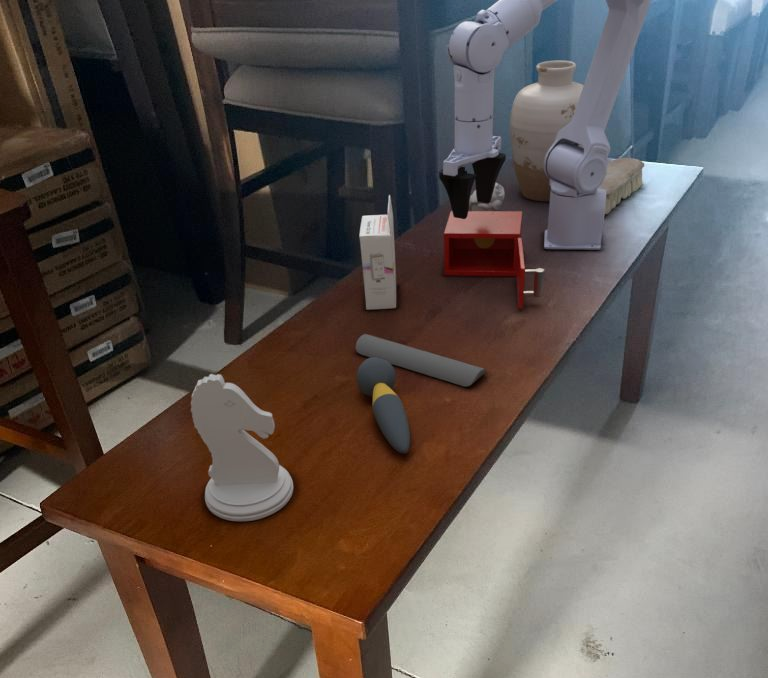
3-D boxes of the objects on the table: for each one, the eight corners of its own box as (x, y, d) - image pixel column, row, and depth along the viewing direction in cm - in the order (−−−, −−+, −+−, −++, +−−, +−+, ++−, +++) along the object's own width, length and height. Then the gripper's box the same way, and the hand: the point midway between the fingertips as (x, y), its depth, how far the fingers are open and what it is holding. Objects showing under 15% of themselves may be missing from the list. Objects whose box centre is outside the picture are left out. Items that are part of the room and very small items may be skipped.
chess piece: (289, 519, 82) (267, 399, 72) (198, 524, 83) (164, 405, 73) (297, 464, 90) (278, 348, 80) (213, 468, 90) (184, 354, 80)
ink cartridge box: (366, 287, 126) (359, 194, 116) (397, 285, 125) (392, 192, 116) (364, 310, 119) (356, 214, 110) (396, 309, 119) (391, 213, 109)
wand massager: (435, 453, 90) (434, 417, 86) (394, 463, 89) (392, 426, 86) (385, 373, 104) (382, 340, 101) (349, 381, 103) (346, 347, 100)
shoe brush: (603, 222, 141) (607, 194, 138) (565, 216, 144) (568, 189, 141) (648, 183, 156) (652, 156, 152) (612, 178, 159) (615, 152, 156)
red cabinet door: (515, 275, 125) (517, 237, 121) (538, 275, 124) (541, 237, 120) (518, 308, 116) (520, 268, 112) (542, 308, 115) (546, 268, 111)
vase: (490, 197, 155) (494, 68, 140) (536, 176, 163) (544, 52, 148) (558, 212, 146) (569, 77, 131) (602, 189, 154) (618, 59, 140)
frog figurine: (510, 220, 145) (512, 181, 140) (481, 229, 142) (482, 190, 137) (489, 211, 149) (490, 174, 144) (461, 220, 146) (461, 182, 141)
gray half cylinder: (472, 390, 100) (472, 378, 99) (353, 353, 109) (352, 341, 108) (488, 375, 102) (489, 363, 101) (371, 340, 112) (370, 329, 111)
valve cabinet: (520, 252, 133) (522, 211, 128) (517, 276, 125) (519, 233, 121) (450, 251, 135) (450, 211, 130) (444, 275, 127) (443, 233, 123)
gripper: (472, 132, 108) (471, 228, 117) (520, 107, 117) (515, 199, 126) (430, 127, 112) (432, 221, 121) (479, 103, 120) (477, 193, 129)
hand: (472, 209), depth 123 cm, fingers open, 7 cm apart
